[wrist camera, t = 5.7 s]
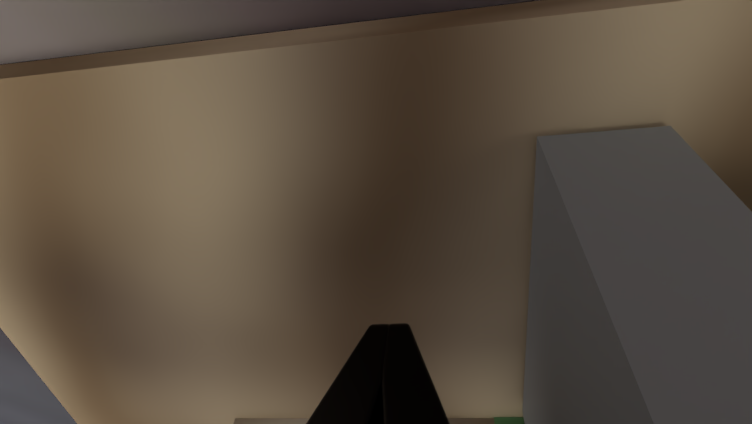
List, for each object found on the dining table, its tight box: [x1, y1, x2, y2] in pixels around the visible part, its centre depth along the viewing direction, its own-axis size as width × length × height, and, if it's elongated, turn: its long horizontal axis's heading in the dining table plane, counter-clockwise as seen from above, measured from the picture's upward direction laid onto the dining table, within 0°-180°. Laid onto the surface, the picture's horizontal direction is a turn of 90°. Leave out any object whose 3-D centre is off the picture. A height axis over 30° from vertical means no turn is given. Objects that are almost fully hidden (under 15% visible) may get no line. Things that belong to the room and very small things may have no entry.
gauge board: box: [0, 0, 752, 424], centre depth 9 cm, size 20×11×6 cm, turn 98°
